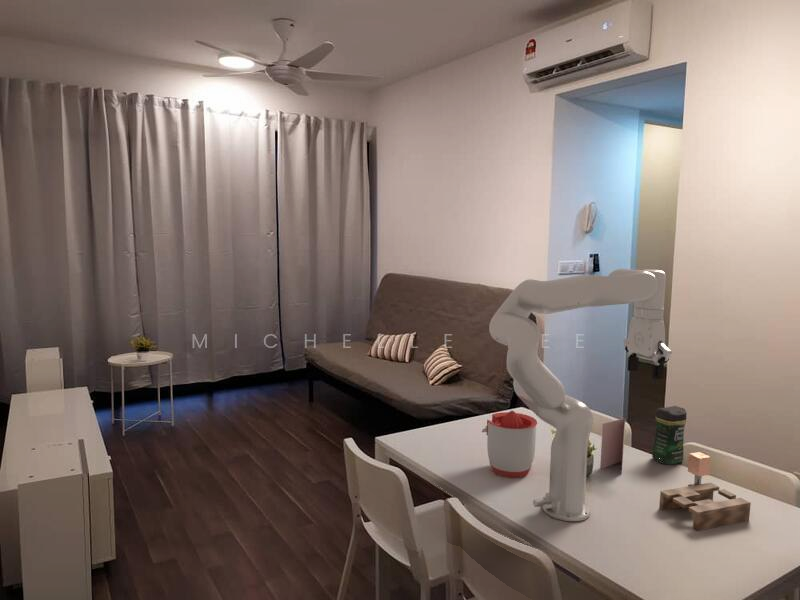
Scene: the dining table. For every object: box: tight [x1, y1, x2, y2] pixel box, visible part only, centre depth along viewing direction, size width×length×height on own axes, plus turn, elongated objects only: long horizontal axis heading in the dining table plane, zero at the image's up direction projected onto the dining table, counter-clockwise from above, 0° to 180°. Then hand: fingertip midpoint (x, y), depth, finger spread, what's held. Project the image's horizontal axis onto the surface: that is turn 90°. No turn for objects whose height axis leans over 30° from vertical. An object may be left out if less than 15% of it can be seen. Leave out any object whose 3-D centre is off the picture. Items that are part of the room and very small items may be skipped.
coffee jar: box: [651, 405, 688, 465], centre depth 196 cm, size 10×8×19 cm
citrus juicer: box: [481, 410, 538, 479], centre depth 186 cm, size 16×17×20 cm
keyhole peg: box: [687, 451, 711, 486], centre depth 172 cm, size 5×5×12 cm
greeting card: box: [599, 417, 626, 475], centre depth 190 cm, size 11×7×15 cm, turn 122°
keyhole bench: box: [658, 482, 752, 531], centre depth 159 cm, size 18×13×5 cm
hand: (644, 374), depth 164 cm, fingers open, 9 cm apart
